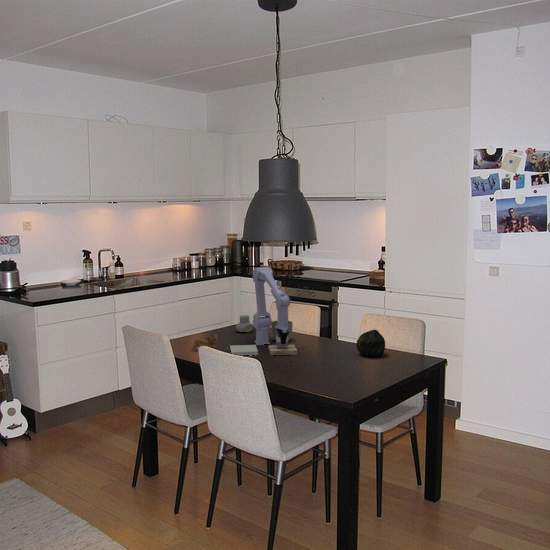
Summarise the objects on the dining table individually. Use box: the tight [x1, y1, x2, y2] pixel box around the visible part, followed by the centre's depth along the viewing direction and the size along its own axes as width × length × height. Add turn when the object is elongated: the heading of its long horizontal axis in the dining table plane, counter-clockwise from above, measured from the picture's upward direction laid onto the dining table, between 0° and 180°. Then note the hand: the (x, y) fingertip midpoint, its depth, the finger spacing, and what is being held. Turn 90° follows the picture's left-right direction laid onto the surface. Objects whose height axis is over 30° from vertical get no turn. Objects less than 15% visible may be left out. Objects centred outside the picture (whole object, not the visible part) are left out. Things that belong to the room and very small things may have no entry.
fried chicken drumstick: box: [191, 333, 219, 351], centre depth 330 cm, size 15×5×9 cm, turn 99°
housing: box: [275, 335, 289, 347], centre depth 327 cm, size 4×6×5 cm
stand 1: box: [229, 344, 259, 357], centre depth 326 cm, size 14×14×2 cm
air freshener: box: [235, 314, 254, 333], centre depth 375 cm, size 11×8×10 cm
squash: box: [356, 329, 386, 357], centre depth 321 cm, size 14×15×15 cm
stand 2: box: [267, 343, 298, 357], centre depth 328 cm, size 14×14×2 cm
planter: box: [270, 320, 293, 342], centre depth 353 cm, size 12×12×11 cm
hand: (282, 342), depth 327 cm, fingers closed on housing, 4 cm apart
